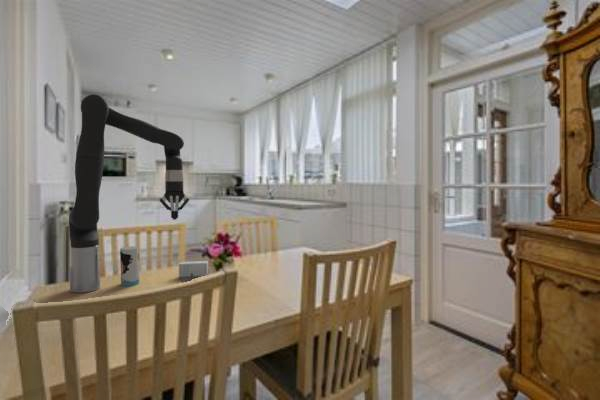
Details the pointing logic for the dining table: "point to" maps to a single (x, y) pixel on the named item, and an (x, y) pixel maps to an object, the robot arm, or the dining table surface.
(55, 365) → the dining table surface
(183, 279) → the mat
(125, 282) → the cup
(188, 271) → the skincare box
